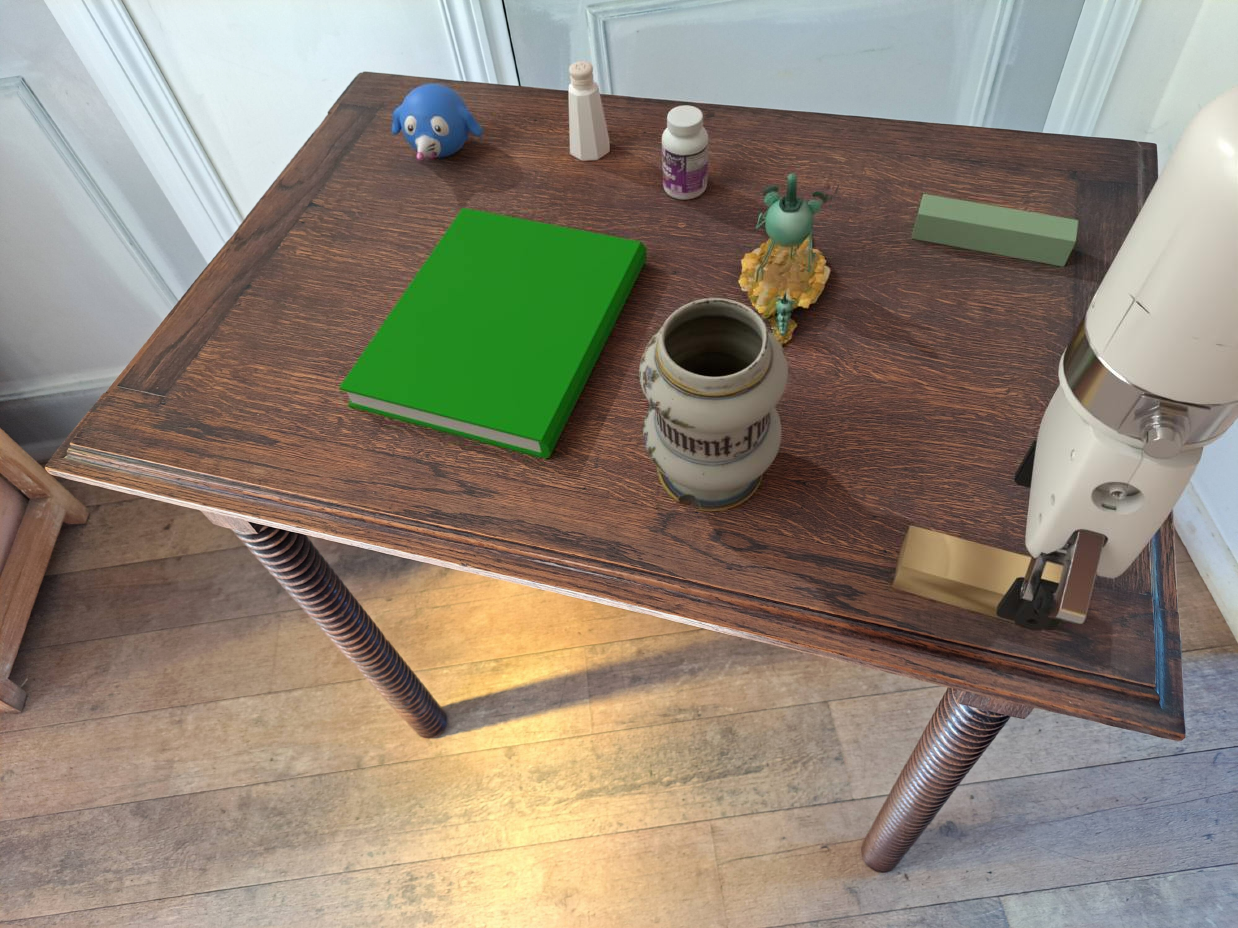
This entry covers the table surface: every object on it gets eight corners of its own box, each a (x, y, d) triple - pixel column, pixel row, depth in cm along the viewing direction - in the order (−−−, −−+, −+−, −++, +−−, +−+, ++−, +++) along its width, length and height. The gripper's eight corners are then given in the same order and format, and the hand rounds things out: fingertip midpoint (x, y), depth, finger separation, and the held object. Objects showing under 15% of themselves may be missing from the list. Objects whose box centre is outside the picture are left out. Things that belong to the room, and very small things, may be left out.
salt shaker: (577, 167, 106) (567, 85, 97) (562, 143, 109) (550, 61, 100) (617, 154, 107) (611, 71, 98) (601, 131, 110) (593, 49, 101)
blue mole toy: (382, 187, 107) (360, 127, 100) (407, 129, 113) (389, 69, 107) (474, 190, 105) (459, 129, 98) (495, 131, 112) (482, 71, 105)
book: (348, 406, 87) (338, 387, 84) (468, 228, 101) (462, 207, 99) (551, 460, 81) (546, 441, 79) (646, 263, 96) (645, 242, 93)
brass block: (1048, 588, 70) (1065, 566, 67) (1043, 631, 68) (1060, 610, 65) (900, 548, 74) (910, 524, 70) (891, 587, 72) (901, 565, 68)
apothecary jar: (627, 502, 78) (613, 374, 63) (669, 403, 84) (664, 266, 69) (756, 538, 75) (772, 412, 60) (789, 433, 81) (812, 295, 66)
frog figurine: (711, 334, 89) (717, 210, 78) (758, 238, 100) (770, 117, 89) (801, 355, 86) (822, 229, 75) (840, 254, 97) (863, 131, 86)
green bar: (1066, 245, 93) (1078, 220, 90) (1064, 267, 91) (1076, 241, 88) (916, 218, 97) (923, 193, 94) (911, 239, 95) (917, 213, 92)
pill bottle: (653, 185, 103) (650, 114, 95) (688, 167, 105) (688, 95, 97) (681, 208, 101) (680, 136, 93) (716, 189, 102) (718, 116, 94)
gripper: (1260, 550, 33) (1088, 699, 47) (1246, 254, 42) (1105, 454, 56) (1053, 500, 35) (947, 658, 49) (1082, 226, 44) (985, 427, 58)
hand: (1031, 549), depth 52 cm, fingers open, 9 cm apart
